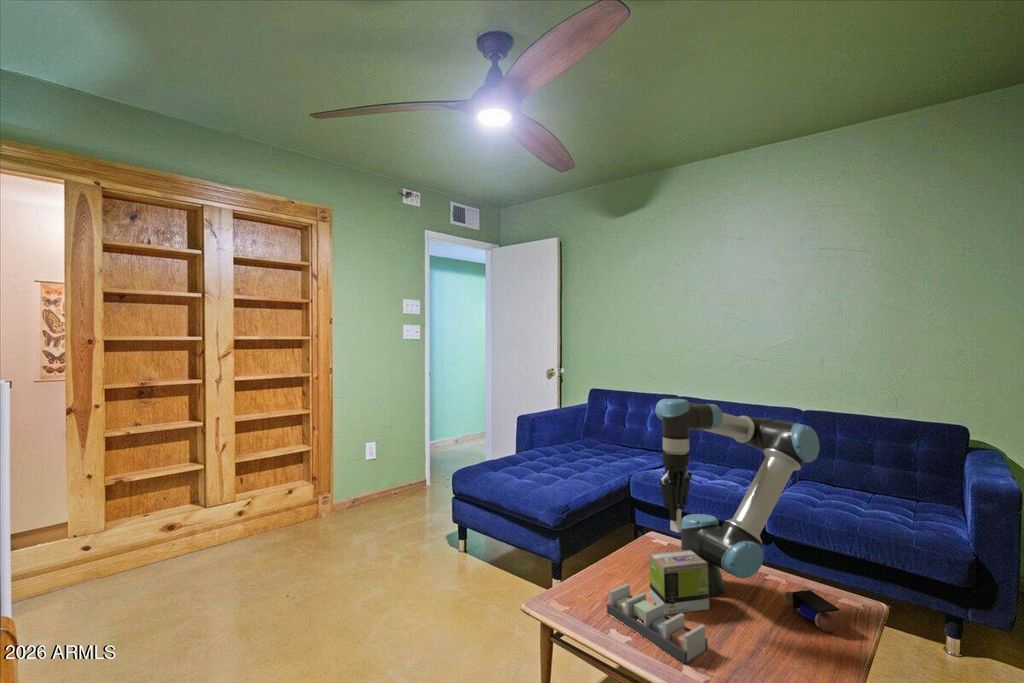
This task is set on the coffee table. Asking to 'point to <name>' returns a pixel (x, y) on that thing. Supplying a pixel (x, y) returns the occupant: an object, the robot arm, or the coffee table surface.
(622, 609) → the ivory key
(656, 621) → the slate key
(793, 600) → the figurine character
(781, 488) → the robot arm
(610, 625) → the coffee table surface
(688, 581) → the tea box
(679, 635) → the terracotta key
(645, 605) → the sage key
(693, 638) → the keypad base
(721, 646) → the coffee table surface
